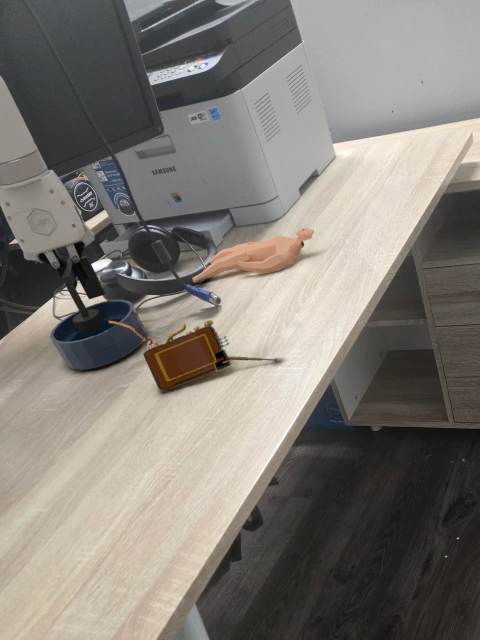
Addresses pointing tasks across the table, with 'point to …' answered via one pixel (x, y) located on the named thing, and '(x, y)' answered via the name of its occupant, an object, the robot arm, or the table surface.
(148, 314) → the table surface
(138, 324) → the bowl
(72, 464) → the table surface
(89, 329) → the articulated desk lamp
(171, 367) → the brown box with rod
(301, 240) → the male figurine
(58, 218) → the robot arm
